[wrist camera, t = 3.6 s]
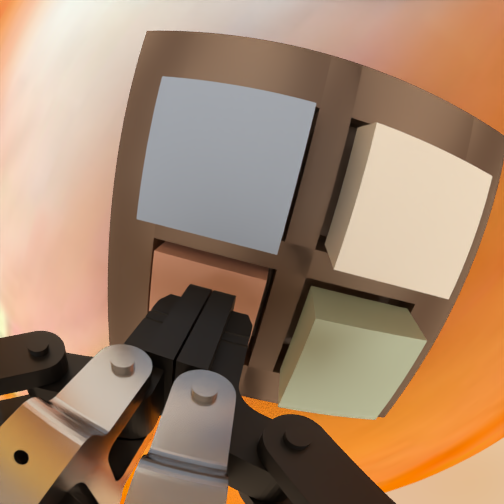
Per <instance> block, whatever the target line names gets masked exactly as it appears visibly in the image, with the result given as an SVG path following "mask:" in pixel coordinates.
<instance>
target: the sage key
mask: <svg viewBox="0 0 504 504" xmlns="http://www.w3.org/2000/svg"><path fill="white" fill-rule="evenodd" d="M426 342H427V340H426V338H425V336H424V335H423V333H422V331H421V330H420V328H419V326H418V325H417V323H416V322H415V320H414V318H413V317H412V315H411V314H410V312H409V311H408V309H407V308H402V307H398V306H394V305H389V304H385V303H381V302H377V301H372V300H368V299H364V298H360V297H356V296H352V295H347V294H343V293H339V292H335V291H331V290H327V289H323V288H319V287H315V286H311V287H310V290H309V293H308V296H307V299H306V301H305V304H304V307H303V310H302V313H301V315H300V318H299V321H298V324H297V326H296V329H295V332H294V334H293V337H292V340H291V342H290V345H289V348H288V350H287V353H286V355H285V358H284V360H283V363H282V366H281V368H280V381H279V397H278V407H282V408H287V409H293V410H299V411H305V412H311V413H318V414H325V415H333V416H341V417H350V418H361V419H373V420H375V419H376V418H377V417H378V415H379V414H380V413H381V411H382V410H383V409H384V407H385V406H386V405H387V403H388V402H389V400H390V399H391V397H392V396H393V395H394V393H395V392H396V390H397V389H398V387H399V386H400V384H401V383H402V381H403V380H404V378H405V377H406V375H407V374H408V372H409V370H410V369H411V367H412V366H413V364H414V362H415V361H416V359H417V357H418V356H419V354H420V352H421V351H422V349H423V347H424V346H425V344H426Z"/></svg>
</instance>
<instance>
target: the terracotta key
mask: <svg viewBox="0 0 504 504" xmlns="http://www.w3.org/2000/svg"><path fill="white" fill-rule="evenodd" d="M268 270H269V268H268V267H264V266H260V265H256V264H252V263H248V262H244V261H240V260H237V259H233V258H229V257H225V256H221V255H217V254H213V253H210V252H206V251H202V250H198V249H194V248H191V247H187V246H183V245H179V244H175V243H172V242H168V241H165V242H164V243H163V244H161V245H160V246H159V247H158V248H157V249H155V250H154V257H153V267H152V278H151V290H150V303H149V311H151V309H152V307H153V306H154V305H155V304H156V303H157V301H158V300H159V299H161V298H164V297H166V296H168V295H170V294H173V295H176V296H180V297H181V296H182V294H183V293H184V291H185V290H186V289H187V287H188V286H189V285H190V284H193V285H197V286H201V287H204V288H208V289H212V290H213V291H214V290H216V291H220V292H223V293H227V294H231V295H235V296H236V300H235V305H234V310H233V311H235V312H239V313H242V314H246V315H248V316H249V318H250V321H251V323H252V325H253V327H252V331H253V328H254V324H255V321H256V317H257V314H258V310H259V307H260V303H261V300H262V296H263V292H264V289H265V285H266V282H267V276H268ZM252 331H251V334H252ZM250 338H251V335H250ZM249 341H250V340H249ZM248 345H249V344H248Z"/></svg>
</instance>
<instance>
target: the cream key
mask: <svg viewBox="0 0 504 504" xmlns="http://www.w3.org/2000/svg"><path fill="white" fill-rule="evenodd" d="M491 180H492V176H491V175H490V174H488V173H486V172H484V171H483V170H481V169H479V168H477V167H475V166H473V165H472V164H470V163H468V162H466V161H464V160H462V159H460V158H458V157H456V156H454V155H452V154H450V153H448V152H446V151H444V150H442V149H440V148H438V147H435V146H433V145H431V144H429V143H427V142H424V141H422V140H420V139H418V138H415V137H413V136H411V135H408V134H406V133H403V132H401V131H398V130H396V129H393V128H391V127H388V126H385V125H383V124H380V123H377V122H376V123H372V124H369V125H365V126H362V127H358V128H357V131H356V135H355V139H354V143H353V147H352V151H351V155H350V159H349V163H348V166H347V170H346V174H345V177H344V181H343V185H342V188H341V192H340V195H339V199H338V202H337V206H336V209H335V212H334V216H333V219H332V222H331V226H330V229H329V232H328V235H327V238H326V242H325V247H326V249H327V252H328V255H329V258H330V260H331V263H332V266H333V269H334V270H337V271H341V272H345V273H349V274H353V275H357V276H361V277H365V278H368V279H372V280H376V281H380V282H384V283H388V284H391V285H395V286H399V287H403V288H407V289H411V290H414V291H418V292H422V293H426V294H430V295H434V296H437V297H441V298H445V299H449V298H450V295H451V293H452V291H453V289H454V287H455V285H456V282H457V280H458V278H459V275H460V273H461V271H462V268H463V266H464V263H465V261H466V258H467V256H468V253H469V251H470V248H471V245H472V242H473V240H474V237H475V234H476V231H477V228H478V225H479V222H480V219H481V216H482V213H483V209H484V206H485V203H486V199H487V196H488V192H489V188H490V184H491Z"/></svg>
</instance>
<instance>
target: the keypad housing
mask: <svg viewBox="0 0 504 504" xmlns="http://www.w3.org/2000/svg"><path fill="white" fill-rule="evenodd" d="M162 76H165V77H177V78H187V79H196V80H204V81H212V82H219V83H226V84H232V85H238V86H244V87H249V88H254V89H260V90H264V91H269V92H274V93H278V94H283V95H287V96H291V97H295V98H299V99H303V100H307V101H311V102H315V103H316V107H315V111H314V116H313V120H312V124H311V128H310V132H309V136H308V140H307V144H306V148H305V152H304V156H303V160H302V163H301V167H300V171H299V175H298V179H297V183H296V187H295V190H294V194H293V198H292V202H291V206H290V209H289V213H288V217H287V221H286V224H285V228H284V232H283V235H282V239H281V243H280V246H279V250H278V253H277V255H275V254H271V253H268V252H264V251H260V250H256V249H252V248H248V247H244V246H240V245H236V244H232V243H228V242H225V241H221V240H217V239H213V238H209V237H205V236H201V235H197V234H193V233H189V232H185V231H181V230H177V229H173V228H169V227H166V226H162V225H158V224H154V223H150V222H146V221H142V220H138V219H137V210H138V202H139V194H140V187H141V180H142V173H143V167H144V161H145V155H146V149H147V143H148V138H149V133H150V128H151V123H152V118H153V113H154V109H155V104H156V100H157V96H158V91H159V87H160V83H161V79H162ZM376 122H377V123H380V124H383V125H385V126H388V127H391V128H393V129H396V130H398V131H401V132H403V133H406V134H408V135H411V136H413V137H415V138H418V139H420V140H422V141H424V142H427V143H429V144H431V145H433V146H435V147H438V148H440V149H442V150H444V151H446V152H448V153H450V154H452V155H454V156H456V157H458V158H460V159H462V160H464V161H466V162H468V163H470V164H472V165H473V166H475V167H477V168H479V169H481V170H483V171H484V172H486V173H488V174H490V175H491V176H492V180H491V184H490V188H489V192H488V196H487V199H486V203H485V206H484V209H483V213H482V216H481V219H480V222H479V225H478V228H477V231H476V234H475V237H474V240H473V242H472V245H471V248H470V251H469V253H468V256H467V258H466V261H465V263H464V266H463V268H462V271H461V273H460V275H459V278H458V280H457V282H456V285H455V287H454V289H453V291H452V293H451V295H450V298H449V299H445V298H441V297H437V296H434V295H430V294H426V293H422V292H418V291H414V290H411V289H407V288H403V287H399V286H395V285H391V284H388V283H384V282H380V281H376V280H372V279H368V278H365V277H361V276H357V275H353V274H349V273H345V272H341V271H337V270H334V269H333V266H332V263H331V260H330V258H329V255H328V252H327V249H326V247H325V242H326V238H327V235H328V232H329V229H330V226H331V222H332V219H333V216H334V212H335V209H336V206H337V202H338V199H339V195H340V192H341V188H342V185H343V181H344V177H345V174H346V170H347V166H348V163H349V159H350V155H351V151H352V147H353V143H354V139H355V135H356V131H357V128H358V127H362V126H365V125H369V124H372V123H376ZM503 161H504V135H502V134H501V133H499V132H498V131H496V130H495V129H493V128H492V127H490V126H489V125H487V124H485V123H484V122H482V121H481V120H479V119H477V118H476V117H474V116H472V115H471V114H469V113H467V112H465V111H464V110H462V109H460V108H458V107H456V106H455V105H453V104H451V103H449V102H447V101H445V100H443V99H441V98H439V97H437V96H435V95H433V94H431V93H429V92H427V91H425V90H423V89H421V88H418V87H416V86H414V85H412V84H410V83H407V82H405V81H403V80H400V79H398V78H395V77H393V76H390V75H388V74H385V73H383V72H380V71H377V70H375V69H372V68H369V67H366V66H363V65H361V64H358V63H355V62H351V61H348V60H345V59H342V58H339V57H335V56H332V55H328V54H325V53H321V52H317V51H313V50H309V49H305V48H301V47H297V46H292V45H288V44H283V43H278V42H273V41H267V40H261V39H255V38H249V37H242V36H234V35H225V34H215V33H203V32H186V31H147V32H146V35H145V39H144V42H143V45H142V49H141V52H140V55H139V59H138V63H137V66H136V70H135V74H134V78H133V82H132V86H131V90H130V94H129V99H128V103H127V108H126V113H125V118H124V123H123V128H122V133H121V139H120V145H119V151H118V158H117V165H116V172H115V180H114V188H113V198H112V208H111V220H110V235H109V255H108V322H109V342H110V346H111V345H116V344H124V343H125V341H126V340H127V339H128V337H129V336H130V335H131V334H132V332H133V331H134V330H135V329H136V327H137V326H138V325H139V324H140V322H141V321H142V320H143V319H144V318H145V316H146V315H147V314H148V312H149V303H150V290H151V278H152V267H153V257H154V250H155V249H157V248H158V247H159V246H160V245H161V244H163V243H164V242H165V241H168V242H172V243H175V244H179V245H183V246H187V247H191V248H194V249H198V250H202V251H206V252H210V253H213V254H217V255H221V256H225V257H229V258H233V259H237V260H240V261H244V262H248V263H252V264H256V265H260V266H264V267H268V268H269V270H268V276H267V282H266V285H265V289H264V292H263V296H262V300H261V303H260V307H259V310H258V314H257V317H256V321H255V324H254V328H253V331H252V334H251V338H250V341H249V345H248V348H247V352H246V357H245V361H244V365H243V369H242V373H241V377H240V382H239V391H240V395H241V396H246V397H250V398H254V399H259V400H263V401H268V402H273V403H278V397H279V381H280V368H281V366H282V363H283V360H284V358H285V355H286V353H287V350H288V348H289V345H290V342H291V340H292V337H293V334H294V332H295V329H296V326H297V324H298V321H299V318H300V315H301V313H302V310H303V307H304V304H305V301H306V299H307V296H308V293H309V290H310V287H311V286H315V287H319V288H323V289H327V290H331V291H335V292H339V293H343V294H347V295H352V296H356V297H360V298H364V299H368V300H372V301H377V302H381V303H385V304H389V305H394V306H398V307H402V308H407V309H408V311H409V312H410V314H411V315H412V317H413V318H414V320H415V322H416V323H417V325H418V326H419V328H420V330H421V331H422V333H423V335H424V336H425V338H426V340H427V342H426V344H425V346H424V347H423V349H422V351H421V352H420V354H419V356H418V357H417V359H416V361H415V362H414V364H413V366H412V367H411V369H410V370H409V372H408V374H407V375H406V377H405V378H404V380H403V381H402V383H401V384H400V386H399V387H398V389H397V390H396V392H395V393H394V395H393V396H392V397H391V399H390V400H389V402H388V403H387V405H386V406H385V407H384V409H383V410H382V411H381V413H380V414H379V415H378V417H385V416H386V414H387V413H388V412H389V410H390V409H391V408H392V406H393V405H394V404H395V402H396V401H397V399H398V398H399V397H400V395H401V394H402V392H403V391H404V390H405V388H406V387H407V385H408V384H409V382H410V381H411V379H412V378H413V376H414V375H415V373H416V371H417V370H418V368H419V367H420V365H421V364H422V362H423V360H424V359H425V357H426V355H427V354H428V352H429V350H430V349H431V347H432V345H433V343H434V342H435V340H436V338H437V336H438V335H439V333H440V331H441V329H442V327H443V325H444V324H445V322H446V320H447V318H448V316H449V314H450V312H451V310H452V308H453V306H454V304H455V302H456V300H457V298H458V295H459V293H460V291H461V289H462V287H463V284H464V282H465V280H466V278H467V275H468V273H469V271H470V268H471V266H472V263H473V261H474V258H475V256H476V253H477V250H478V248H479V245H480V242H481V239H482V237H483V234H484V231H485V228H486V225H487V222H488V219H489V215H490V212H491V209H492V205H493V202H494V198H495V195H496V191H497V187H498V183H499V179H500V175H501V170H502V166H503Z"/></svg>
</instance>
